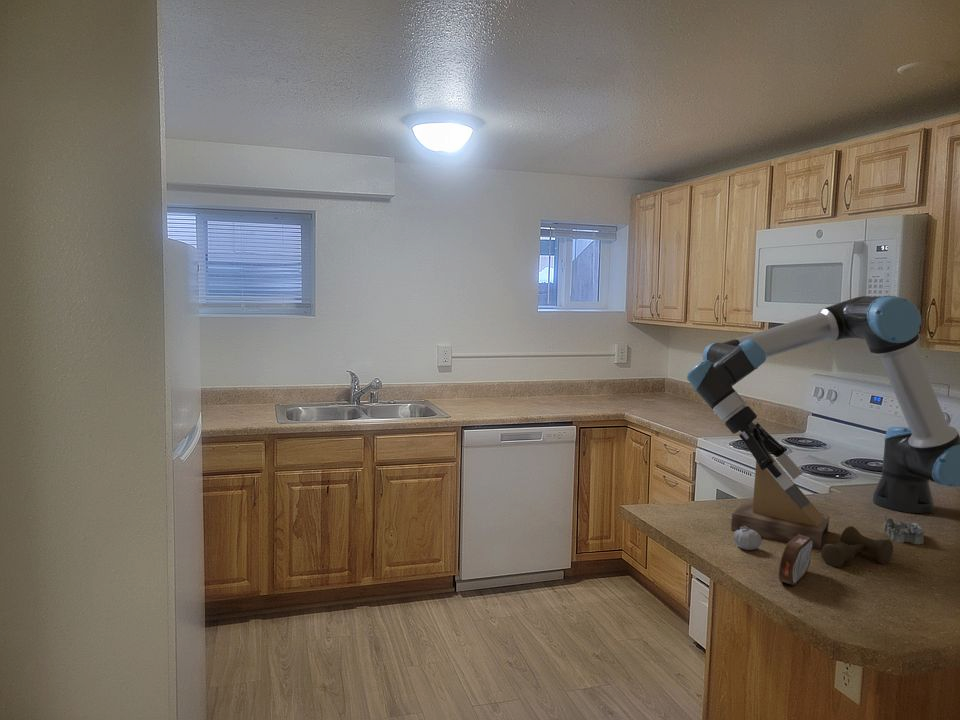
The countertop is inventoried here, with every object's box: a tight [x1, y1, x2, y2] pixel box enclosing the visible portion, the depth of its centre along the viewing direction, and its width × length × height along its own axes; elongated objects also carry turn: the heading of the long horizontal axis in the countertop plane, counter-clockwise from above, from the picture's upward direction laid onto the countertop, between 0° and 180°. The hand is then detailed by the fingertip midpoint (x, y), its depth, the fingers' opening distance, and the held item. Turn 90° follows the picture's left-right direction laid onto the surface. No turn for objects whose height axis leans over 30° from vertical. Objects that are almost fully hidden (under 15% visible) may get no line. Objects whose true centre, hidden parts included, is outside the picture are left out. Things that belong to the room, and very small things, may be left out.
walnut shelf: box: [730, 499, 830, 550], centre depth 171 cm, size 20×16×4 cm
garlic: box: [733, 526, 762, 551], centre depth 158 cm, size 6×5×5 cm
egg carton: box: [883, 514, 926, 546], centre depth 171 cm, size 11×8×4 cm
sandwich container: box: [752, 451, 825, 526], centre depth 170 cm, size 9×15×15 cm, turn 53°
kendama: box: [820, 525, 894, 568], centre depth 154 cm, size 6×10×20 cm
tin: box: [778, 534, 813, 586], centre depth 141 cm, size 15×3×8 cm, turn 140°
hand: (794, 481), depth 169 cm, fingers open, 13 cm apart
